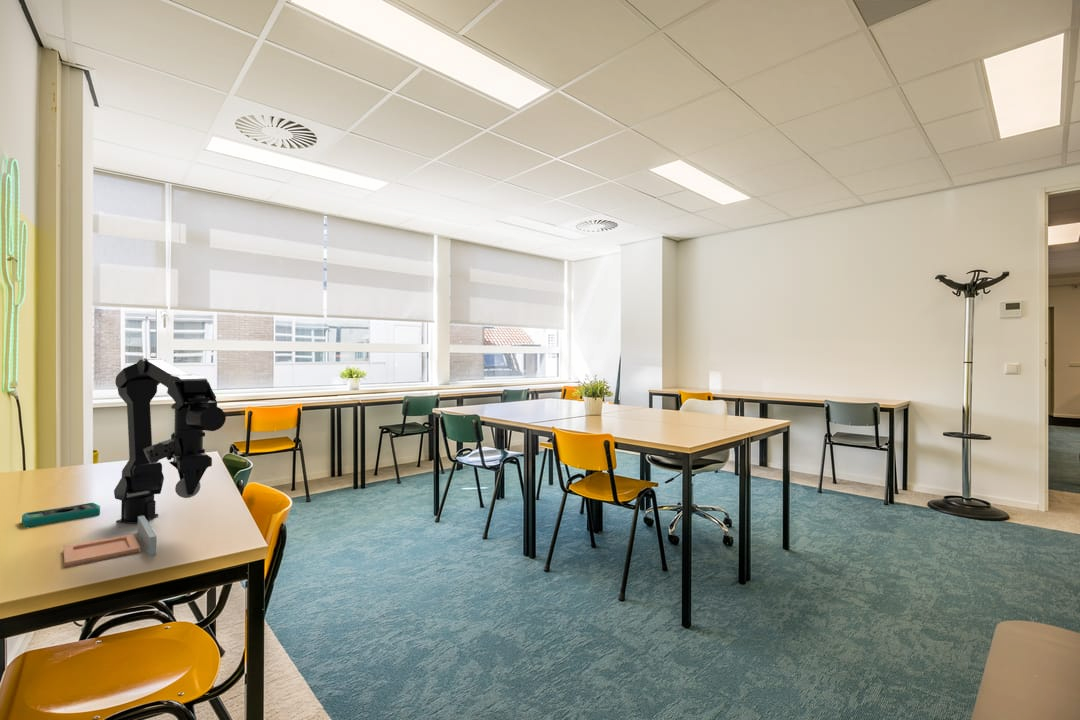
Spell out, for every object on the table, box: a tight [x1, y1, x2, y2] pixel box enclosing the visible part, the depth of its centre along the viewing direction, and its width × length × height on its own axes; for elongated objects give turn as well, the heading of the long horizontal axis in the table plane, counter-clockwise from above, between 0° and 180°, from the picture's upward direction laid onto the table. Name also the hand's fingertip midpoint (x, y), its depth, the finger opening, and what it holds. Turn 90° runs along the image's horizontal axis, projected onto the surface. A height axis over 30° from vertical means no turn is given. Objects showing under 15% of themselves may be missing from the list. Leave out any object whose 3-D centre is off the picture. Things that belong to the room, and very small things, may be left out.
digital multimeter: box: [21, 502, 101, 529], centre depth 132 cm, size 7×15×3 cm, turn 141°
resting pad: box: [62, 533, 141, 568], centre depth 110 cm, size 12×12×1 cm
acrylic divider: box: [137, 516, 158, 557], centre depth 115 cm, size 20×1×4 cm, turn 45°
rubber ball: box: [174, 478, 201, 499], centre depth 121 cm, size 5×5×5 cm
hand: (187, 492), depth 121 cm, fingers closed on rubber ball, 5 cm apart
